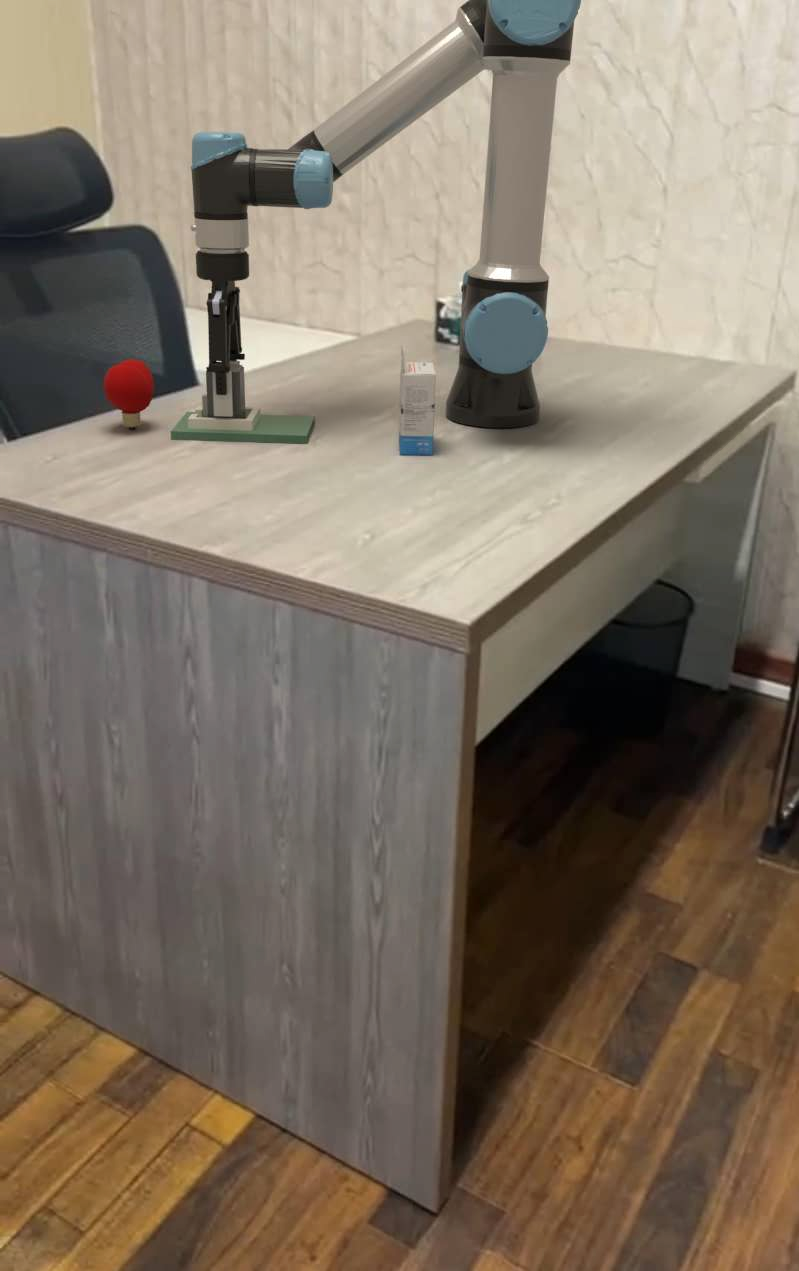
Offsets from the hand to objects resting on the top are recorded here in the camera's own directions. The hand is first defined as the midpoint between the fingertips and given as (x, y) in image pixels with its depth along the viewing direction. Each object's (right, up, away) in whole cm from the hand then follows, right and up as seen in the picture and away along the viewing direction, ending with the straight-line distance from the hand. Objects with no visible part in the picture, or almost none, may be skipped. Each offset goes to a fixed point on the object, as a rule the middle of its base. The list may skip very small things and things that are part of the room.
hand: (227, 409), depth 175 cm
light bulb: (-15, -3, +1) cm, 15 cm away
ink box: (+28, -7, -5) cm, 29 cm away
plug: (0, -2, +1) cm, 2 cm away
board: (+2, -3, +1) cm, 4 cm away
